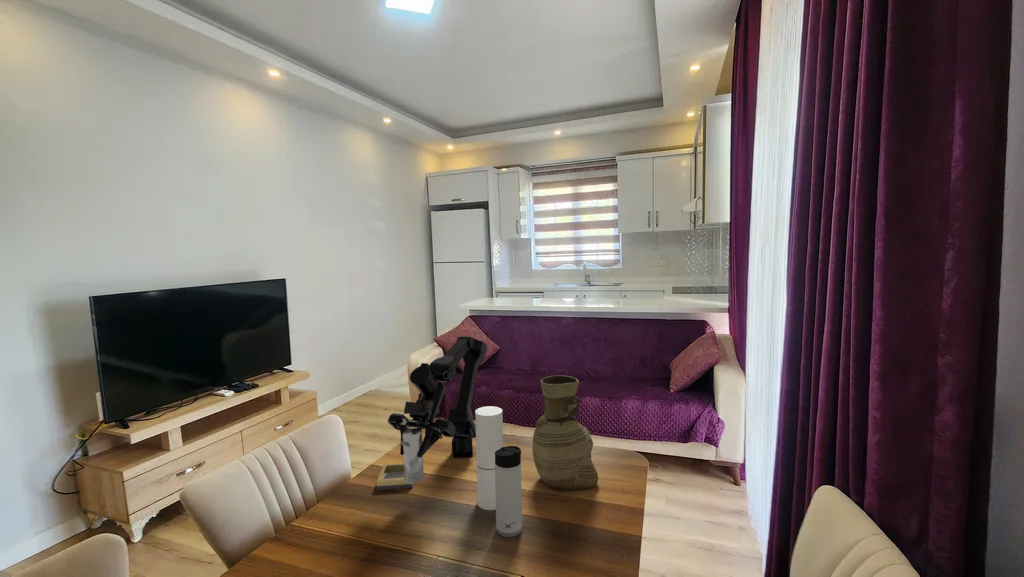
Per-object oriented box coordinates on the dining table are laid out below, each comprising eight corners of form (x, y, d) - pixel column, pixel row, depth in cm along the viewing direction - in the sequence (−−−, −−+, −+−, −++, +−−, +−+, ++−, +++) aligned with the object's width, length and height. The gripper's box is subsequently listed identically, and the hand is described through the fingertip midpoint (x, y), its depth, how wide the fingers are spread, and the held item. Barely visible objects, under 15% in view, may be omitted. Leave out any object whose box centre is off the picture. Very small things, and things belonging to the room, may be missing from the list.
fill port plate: (417, 470, 130) (416, 462, 129) (412, 487, 120) (412, 478, 120) (384, 472, 129) (383, 464, 129) (376, 490, 119) (376, 481, 119)
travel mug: (512, 542, 96) (511, 457, 95) (490, 531, 100) (489, 449, 99) (528, 527, 101) (527, 447, 100) (506, 518, 105) (505, 440, 103)
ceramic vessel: (603, 466, 130) (602, 371, 128) (593, 503, 110) (592, 392, 109) (544, 457, 137) (542, 367, 135) (524, 491, 117) (522, 386, 115)
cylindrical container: (505, 495, 115) (503, 406, 113) (502, 510, 108) (500, 416, 106) (480, 494, 116) (477, 406, 114) (475, 509, 109) (472, 415, 107)
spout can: (411, 471, 115) (409, 427, 114) (427, 474, 114) (425, 429, 113) (395, 485, 108) (393, 438, 107) (412, 488, 107) (410, 441, 106)
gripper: (389, 385, 117) (365, 439, 108) (449, 390, 111) (429, 449, 101) (406, 403, 125) (385, 455, 116) (463, 409, 119) (446, 465, 109)
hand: (410, 456), depth 110 cm, fingers closed on spout can, 5 cm apart
